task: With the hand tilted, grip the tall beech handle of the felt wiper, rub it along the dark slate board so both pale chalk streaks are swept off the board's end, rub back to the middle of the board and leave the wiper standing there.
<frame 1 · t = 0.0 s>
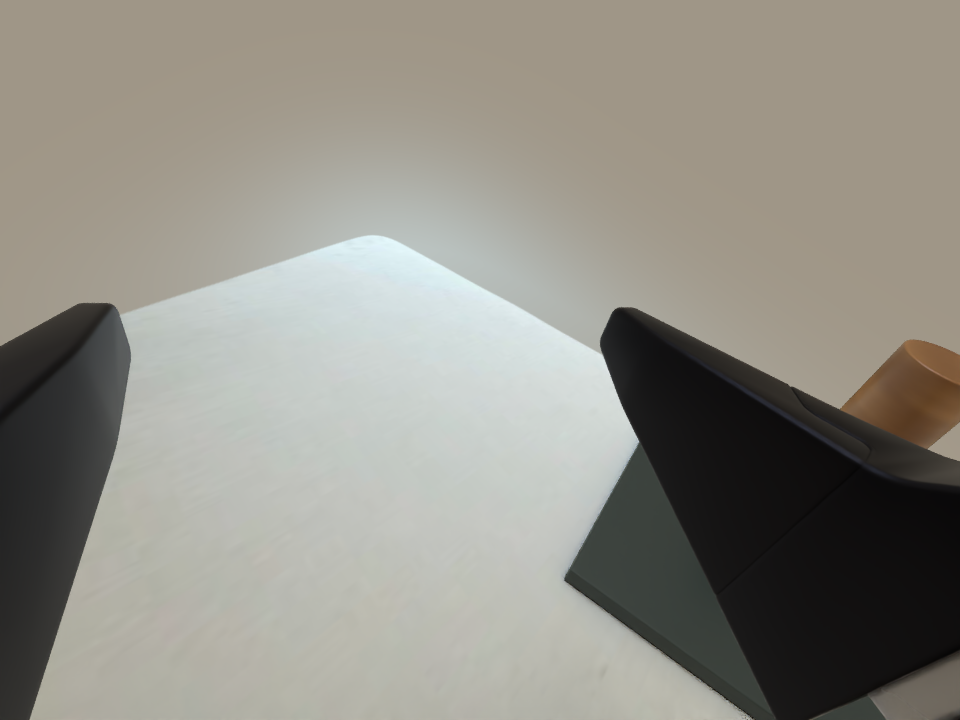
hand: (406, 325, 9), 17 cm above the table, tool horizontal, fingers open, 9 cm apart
wiper: (761, 539, 26), point 1 cm above the table, touching board
board: (803, 611, 25), on the table
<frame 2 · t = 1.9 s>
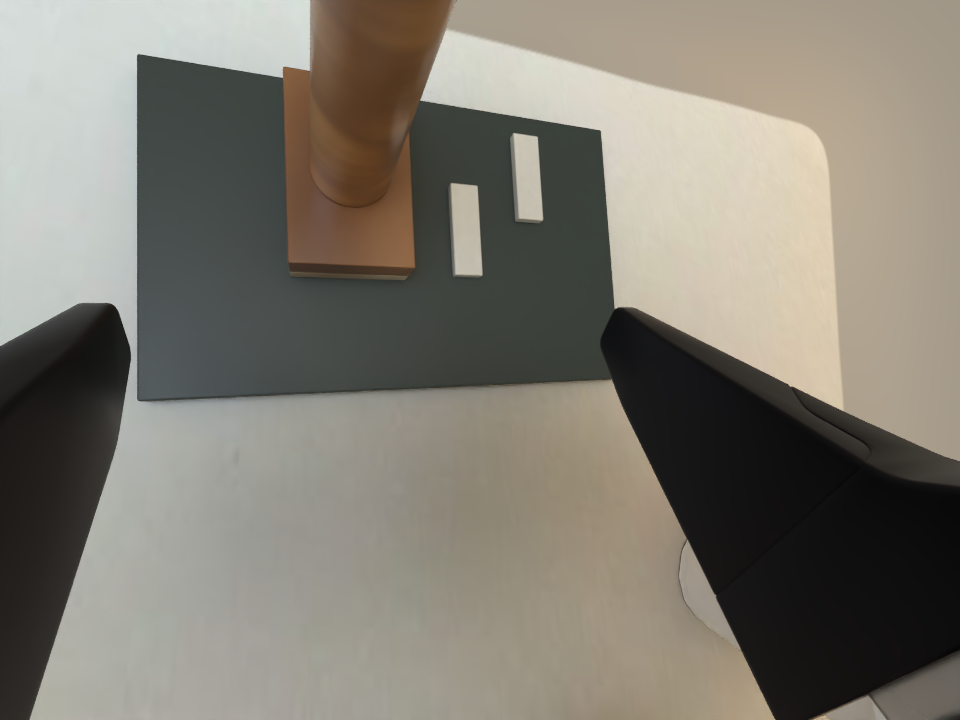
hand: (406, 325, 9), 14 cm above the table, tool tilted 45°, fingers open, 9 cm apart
foam cup: (718, 567, 28), on the table
wiper: (347, 192, 21), point 1 cm above the table, touching board
chalk streak 1: (463, 232, 23), point 1 cm above the table, touching board
board: (409, 246, 23), on the table
chalk streak 2: (524, 181, 25), point 1 cm above the table, touching board
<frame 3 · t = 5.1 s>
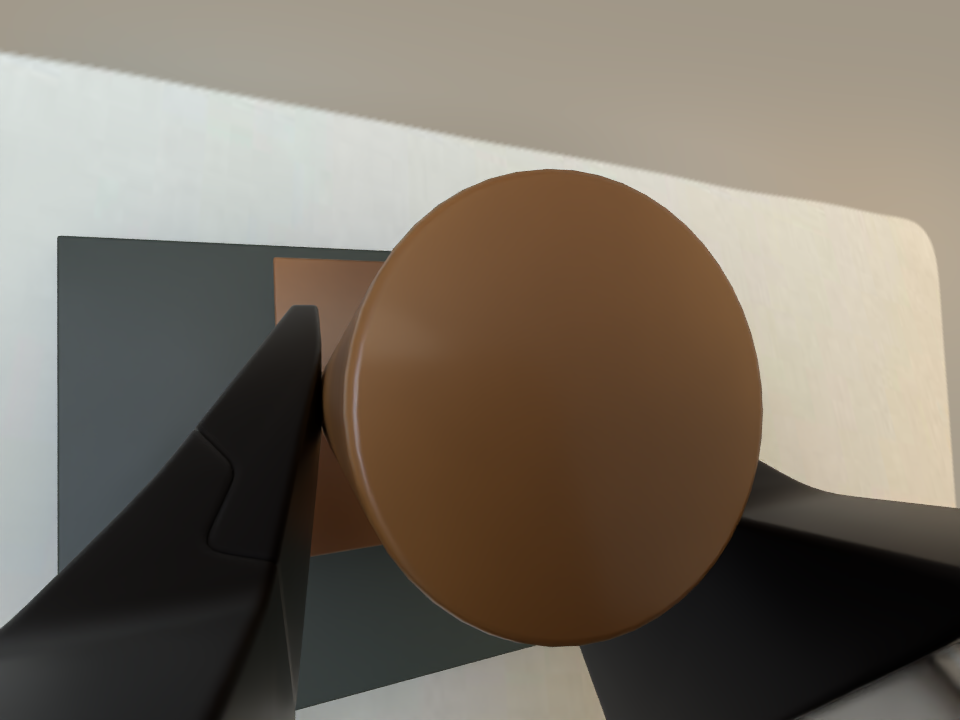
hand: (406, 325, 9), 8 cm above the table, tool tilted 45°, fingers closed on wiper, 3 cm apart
wiper: (365, 400, 15), point 1 cm above the table, touching board, gripper
board: (448, 450, 17), on the table
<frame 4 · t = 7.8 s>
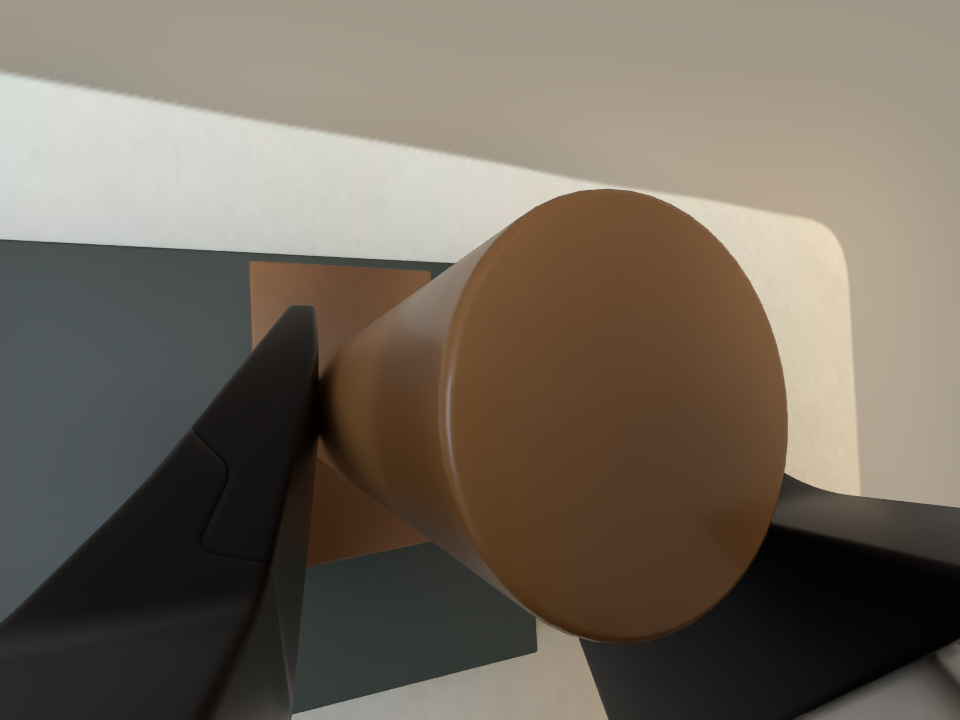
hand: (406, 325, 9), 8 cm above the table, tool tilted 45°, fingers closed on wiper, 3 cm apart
wiper: (340, 408, 15), point 1 cm above the table, tilted 6°, touching board, chalk streak 1, gripper
board: (188, 481, 15), on the table
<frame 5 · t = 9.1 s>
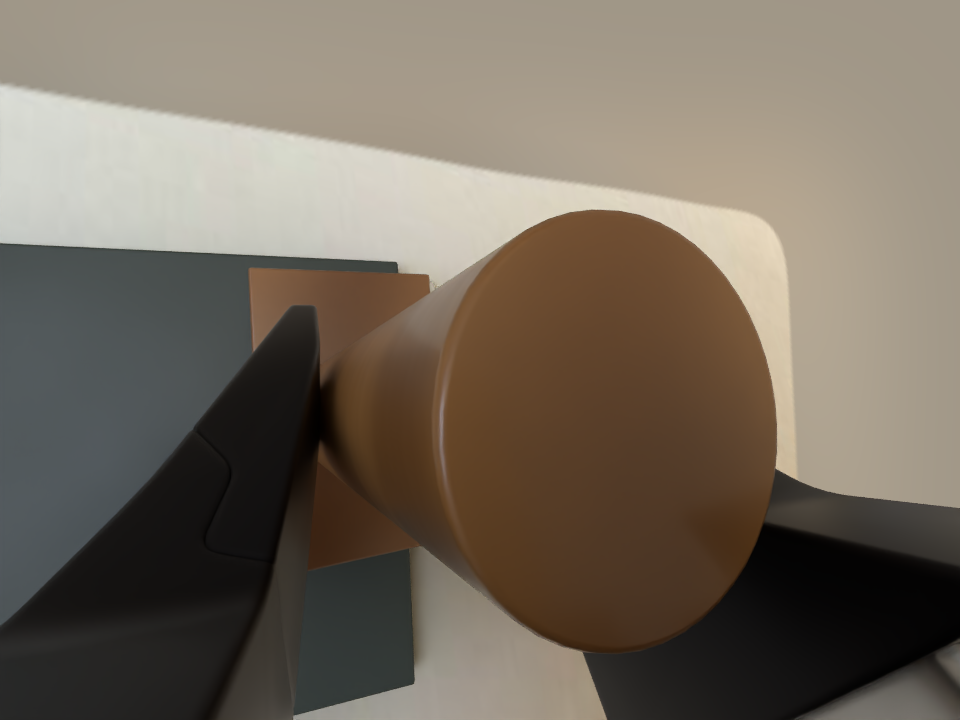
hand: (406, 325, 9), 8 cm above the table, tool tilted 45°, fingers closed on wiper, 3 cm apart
wiper: (341, 411, 15), point 1 cm above the table, tilted 6°, touching board, gripper
board: (2, 501, 13), on the table
when the fingers open (8 cm above the table, at t = 11.3 s): wiper stays where it is, resting on board.
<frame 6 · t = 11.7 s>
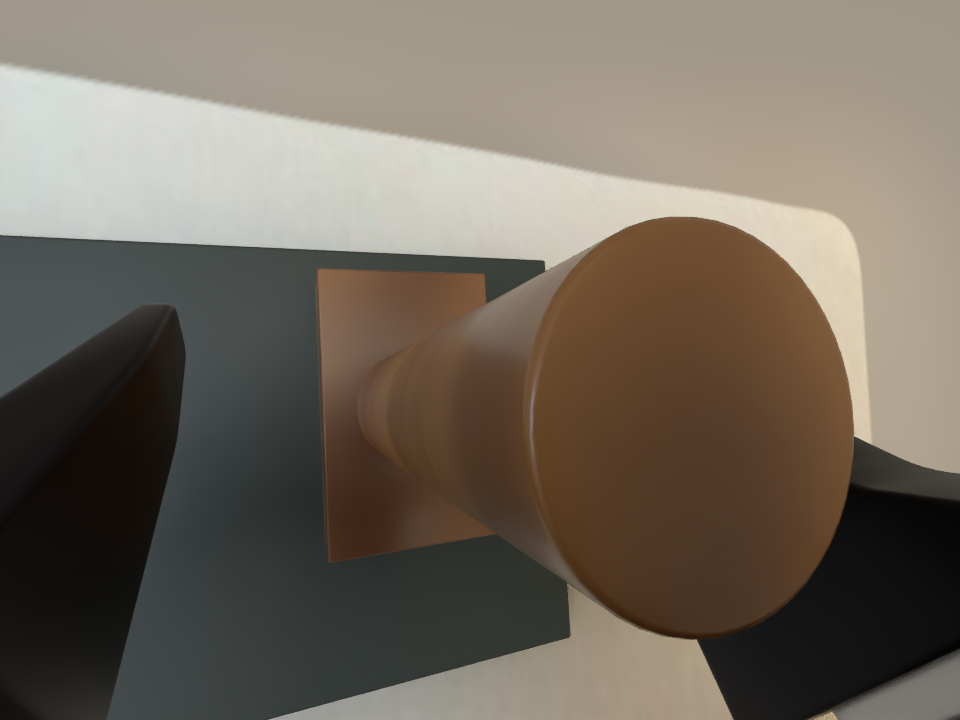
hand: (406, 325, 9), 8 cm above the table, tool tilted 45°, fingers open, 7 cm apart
wiper: (399, 406, 16), point 1 cm above the table, touching board
board: (232, 474, 15), on the table
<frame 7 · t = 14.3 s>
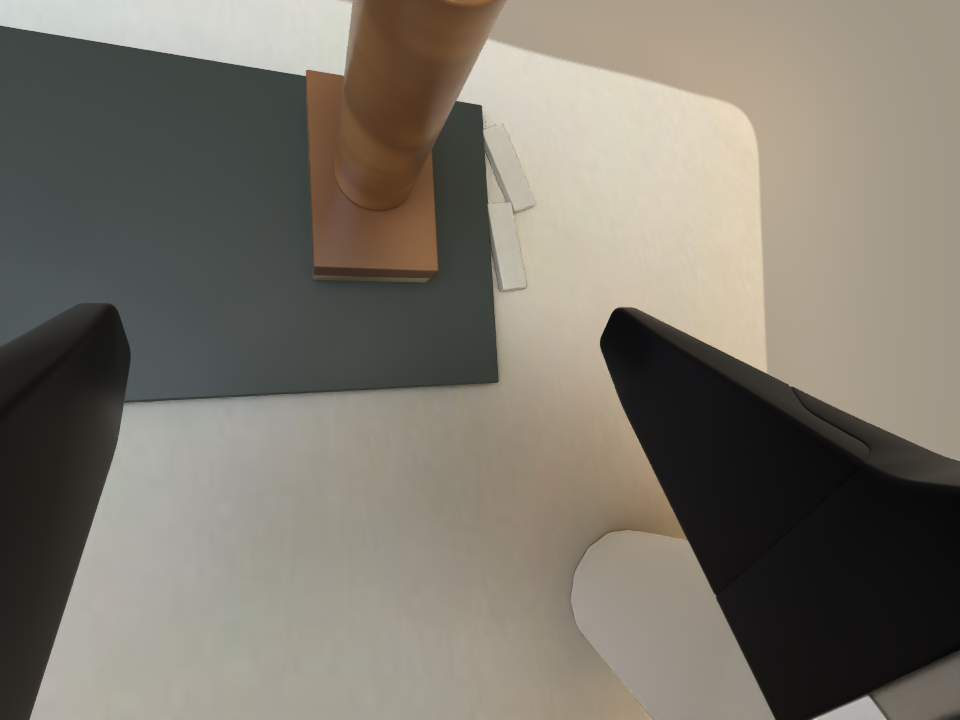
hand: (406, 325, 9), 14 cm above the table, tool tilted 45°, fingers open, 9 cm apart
foam cup: (619, 588, 26), on the table
wiper: (367, 194, 21), point 1 cm above the table, touching board
chalk streak 1: (503, 248, 25), on the table
board: (246, 234, 20), on the table
chalk streak 2: (505, 171, 25), on the table
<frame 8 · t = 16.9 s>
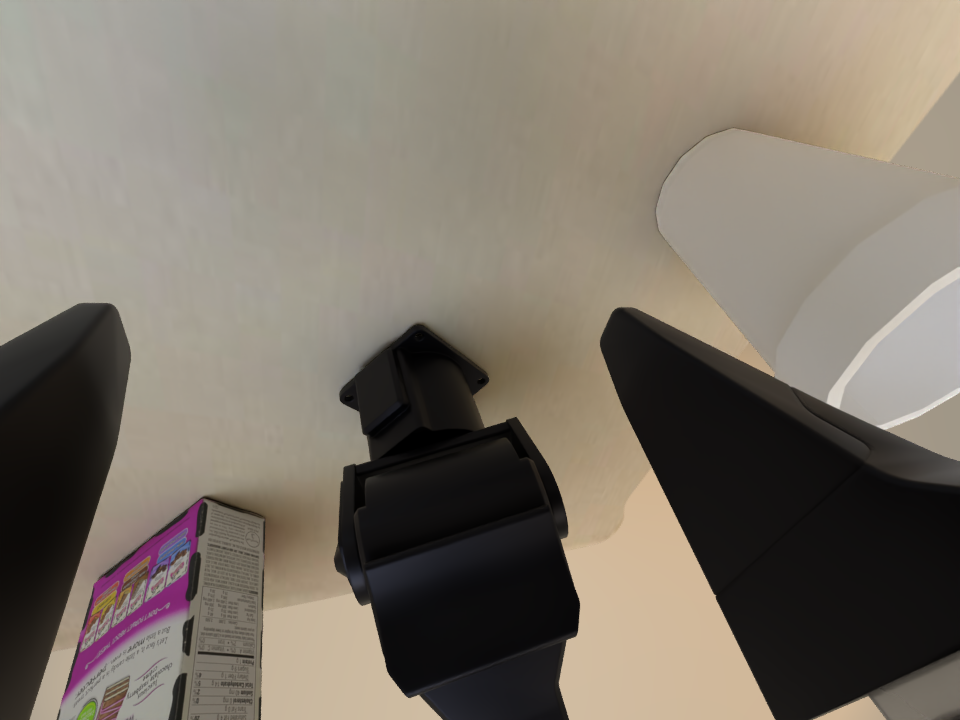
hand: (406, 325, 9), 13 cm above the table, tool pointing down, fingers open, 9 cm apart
foam cup: (707, 190, 25), on the table
candy bar box: (184, 544, 32), on the table
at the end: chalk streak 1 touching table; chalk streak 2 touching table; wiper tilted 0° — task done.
